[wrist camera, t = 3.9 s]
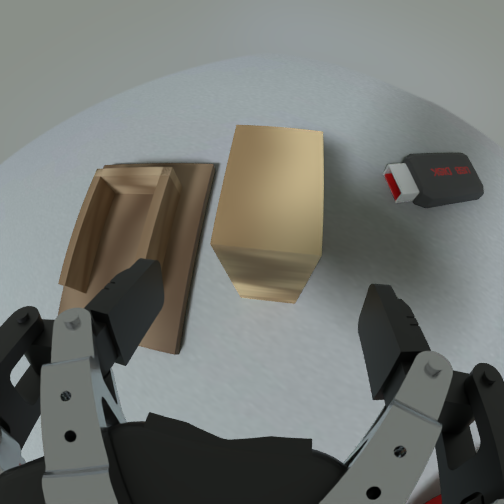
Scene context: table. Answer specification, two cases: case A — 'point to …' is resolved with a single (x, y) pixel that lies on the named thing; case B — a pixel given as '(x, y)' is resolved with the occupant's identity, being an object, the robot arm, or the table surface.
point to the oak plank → (271, 211)
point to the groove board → (140, 237)
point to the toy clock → (435, 500)
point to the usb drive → (434, 179)
